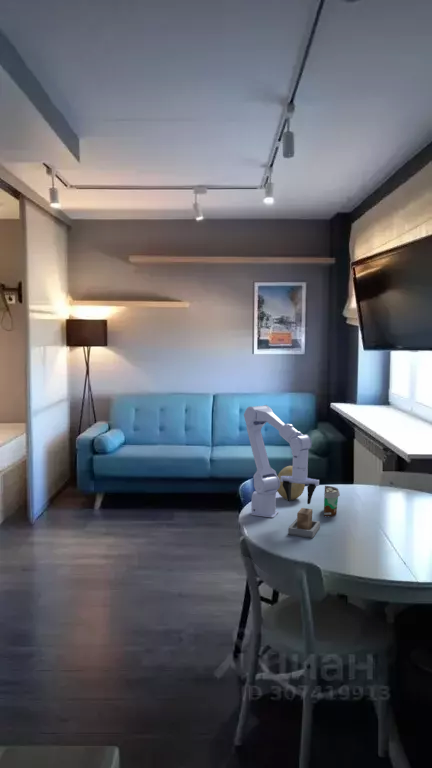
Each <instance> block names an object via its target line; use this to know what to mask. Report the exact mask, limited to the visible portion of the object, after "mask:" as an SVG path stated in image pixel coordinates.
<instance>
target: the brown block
mask: <svg viewBox="0 0 432 768" xmlns="http://www.w3.org/2000/svg"><path fill="white" fill-rule="evenodd" d="M296 516H297V517H296V519H297V528H299V529H306V530H311V528H312V521H313V508H306V507H301V508H300V510H299V511H298V512H297V515H296Z"/></svg>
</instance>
